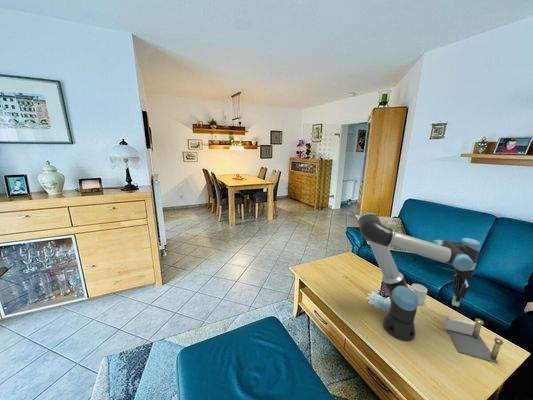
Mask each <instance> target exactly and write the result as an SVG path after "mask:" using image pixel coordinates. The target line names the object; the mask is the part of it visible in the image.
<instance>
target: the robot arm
mask: <svg viewBox="0 0 533 400" xmlns="http://www.w3.org/2000/svg"><path fill="white" fill-rule="evenodd" d="M357 222H358V223H357V224H358V228H359V231H360V234H361V236H362V237H363V239H364V240H365V241H366V242H368V243H369V247H370V249H371V250H372V253H373V255H374V257H375V260H376V262H377V264H378V267H379V269H380V272H381V274H382V277H381V281H382V284H383V285H384V288H385V290H386V293H387V296H388V299H389V302H390V305H389V310H388V313H387V314H386V315H385V317H384V319H383V328H384V330H385V331H386V332H387V333H388V334H389V335H390V336H392V337H393V338H396V339H398V340H400V341H404V342H410V341H413V340H414V339H415V337H416V333H417V332H416V327H415V323H414V322H415V319H416V314H417V310H418V307H419V305H418V296H417V295H416V293H415V292H414V291H411V288H409V286H408V284H407V281H406V279H405V277H404V274H403V273H401V272H400V271H399V270H398V267H397V265H396V263H395V261H394V258H393V256H392V254H391V250H390V248H389V247H393V248H396V249H399V250H402V251H406V252H409V253H413V254H415V255H418V256H422V257H425V258H428V259H431V260H434V261H438V262H441V263H445V264H447V265H450V266H452V267H453V268H454V269H453V271H454V272H453V282H452V291H453V297H452V301H451V304H452V306H455V307H459V306H460V304H461V300H462V299H465V297H466V296H467V295H466V294H467V292H469V289H470V288H471V285H470V284H468V283H469V278H473V276H474V272H475V269H476V265H477V261H478V259H479V258H478V257H479V254H480V251H481V246H482V245H481V244H482V243H480V241H479V240H476V239H473V238H468V237H463V238H461V240H460V241H451V240H443V239H434V240H433V241H432V242H430V241H427V240H423V239H420V238H417V237H414V236H411V235H407V234H404V233H400V232H398V231H394V229H393V228H390V227H387V226H385V224H382V221H381V219H380V218H379V216H378V215H376V213H372V212H366V213H363V214H361V215H360V217H359V218H358V220H357Z"/></svg>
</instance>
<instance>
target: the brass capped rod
mask: <svg viewBox="0 0 533 400" xmlns="http://www.w3.org/2000/svg"><path fill="white" fill-rule="evenodd" d="M493 340H494V343H493V347H492V350H491V355H490V358H492V359H493V360H497V358H498V355H499V352H500V349H501V347H502V345H503V344H504V340H502V339H501V338H498V337H494V339H493Z"/></svg>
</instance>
